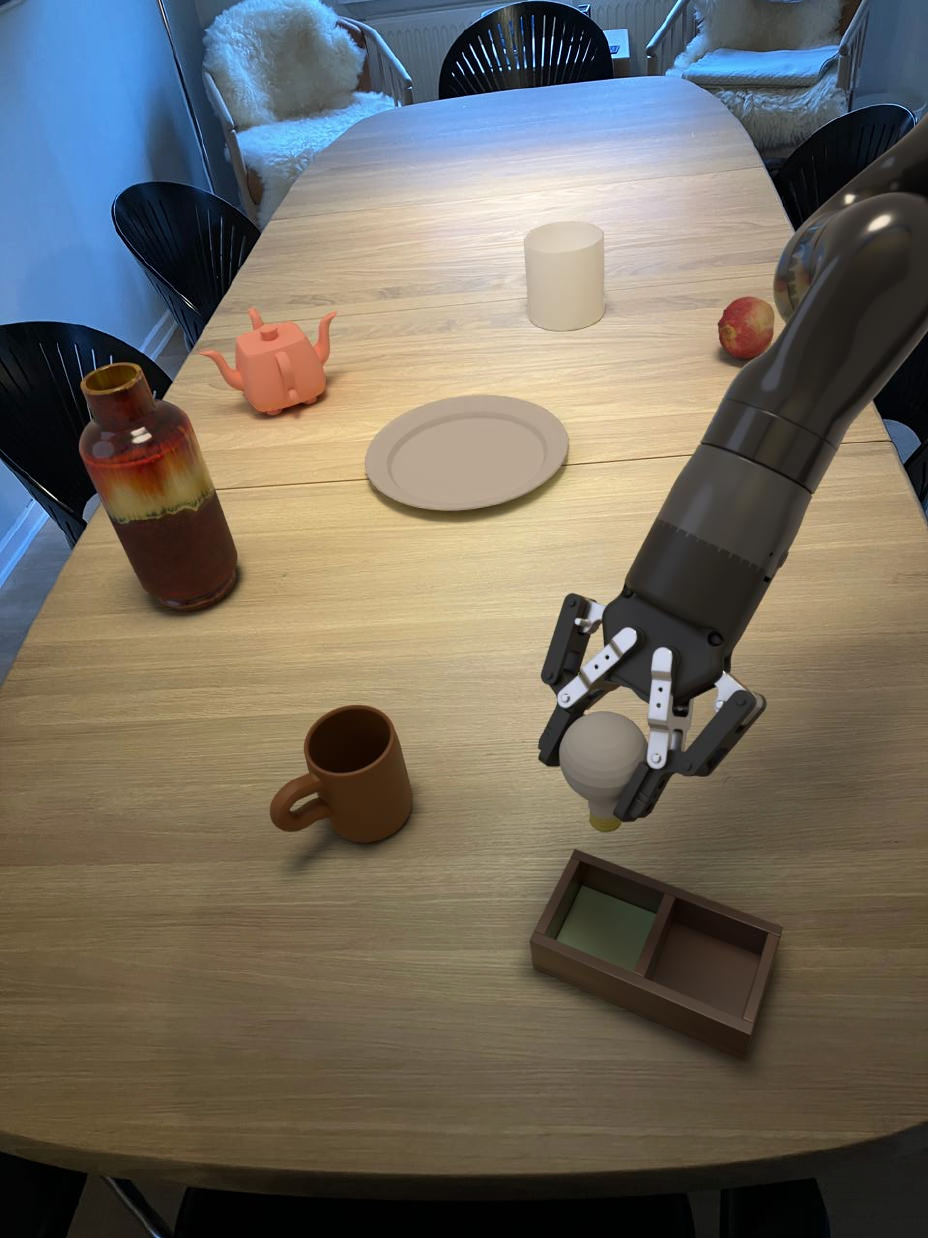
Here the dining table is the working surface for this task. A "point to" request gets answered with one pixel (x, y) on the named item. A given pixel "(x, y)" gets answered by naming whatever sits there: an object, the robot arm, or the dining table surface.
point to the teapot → (277, 364)
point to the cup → (565, 275)
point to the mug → (349, 777)
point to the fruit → (746, 327)
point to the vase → (156, 490)
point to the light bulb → (602, 762)
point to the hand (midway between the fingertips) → (586, 789)
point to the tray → (657, 951)
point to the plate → (466, 452)
